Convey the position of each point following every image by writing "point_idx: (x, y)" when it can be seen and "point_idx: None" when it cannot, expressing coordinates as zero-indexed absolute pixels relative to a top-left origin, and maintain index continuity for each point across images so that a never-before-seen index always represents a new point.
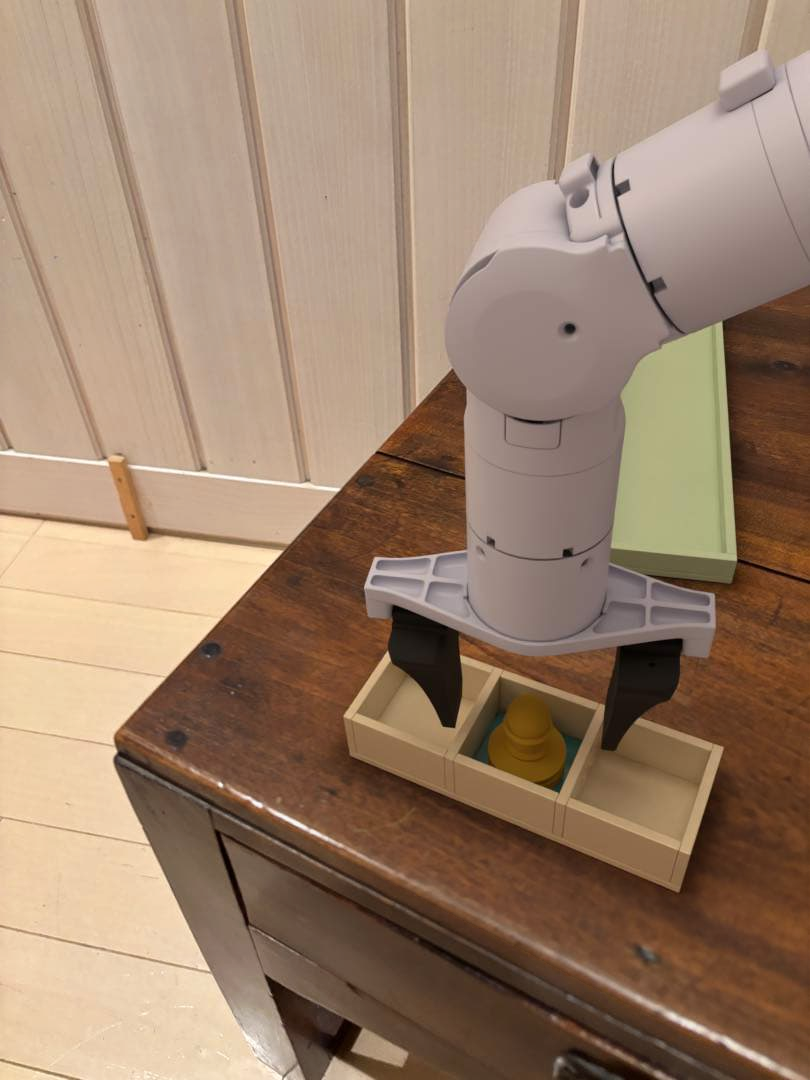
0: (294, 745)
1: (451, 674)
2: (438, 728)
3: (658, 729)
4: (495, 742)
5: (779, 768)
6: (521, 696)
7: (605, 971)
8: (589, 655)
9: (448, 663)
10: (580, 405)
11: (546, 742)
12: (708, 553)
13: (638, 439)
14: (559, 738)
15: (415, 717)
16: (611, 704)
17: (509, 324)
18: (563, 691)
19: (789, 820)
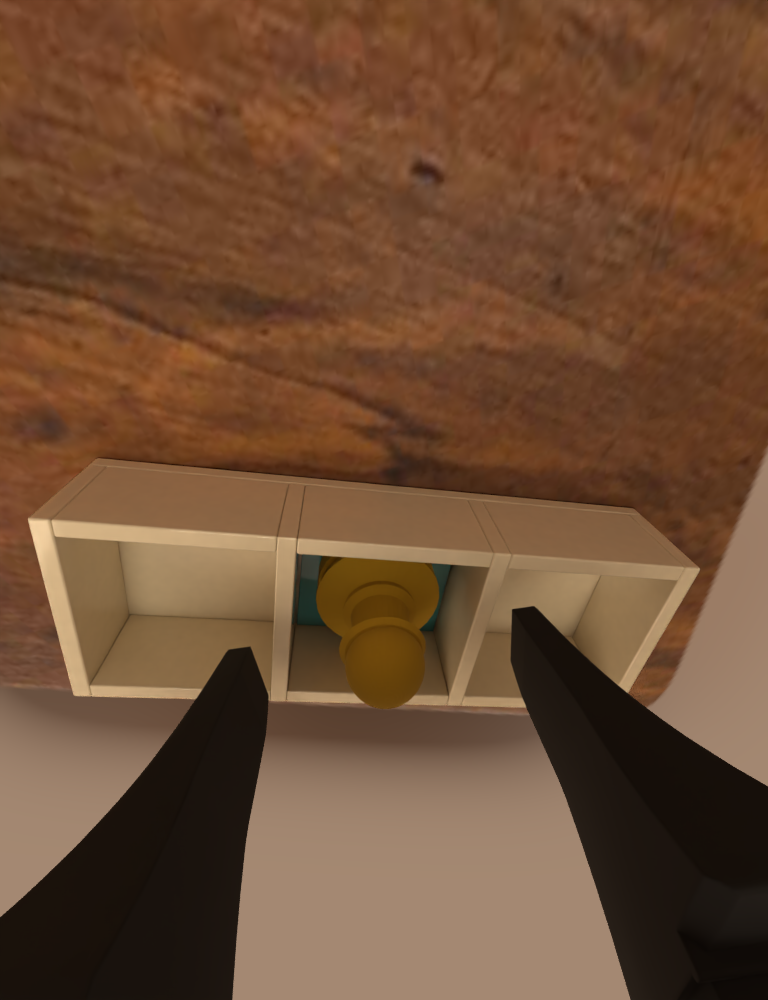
0: (34, 621)
1: (230, 809)
2: (223, 556)
3: (597, 571)
4: (328, 609)
5: (739, 447)
6: (368, 680)
7: (499, 709)
8: (433, 295)
9: (222, 900)
10: None
11: (410, 611)
12: None
13: None
14: (424, 574)
15: (176, 547)
16: (562, 761)
17: None
18: (426, 551)
19: (724, 520)
